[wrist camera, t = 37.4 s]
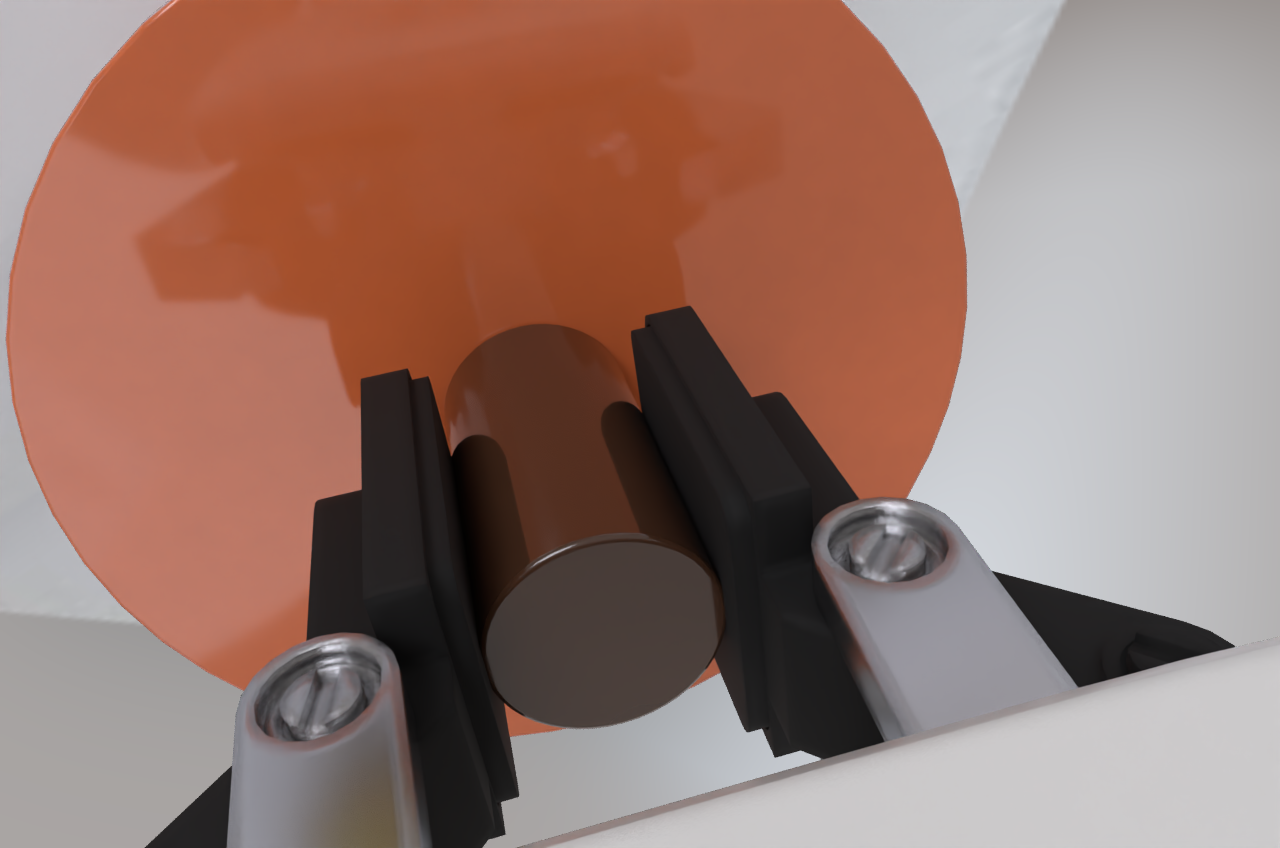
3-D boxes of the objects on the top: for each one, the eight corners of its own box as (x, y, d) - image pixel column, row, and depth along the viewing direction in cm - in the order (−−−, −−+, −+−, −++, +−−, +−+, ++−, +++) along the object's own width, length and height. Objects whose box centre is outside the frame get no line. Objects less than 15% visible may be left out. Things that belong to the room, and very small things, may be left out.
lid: (228, 769, 17) (178, 1141, 12) (-186, -28, 10) (-637, 115, 6) (921, 587, 18) (1112, 853, 14) (948, -207, 12) (1332, -209, 7)
